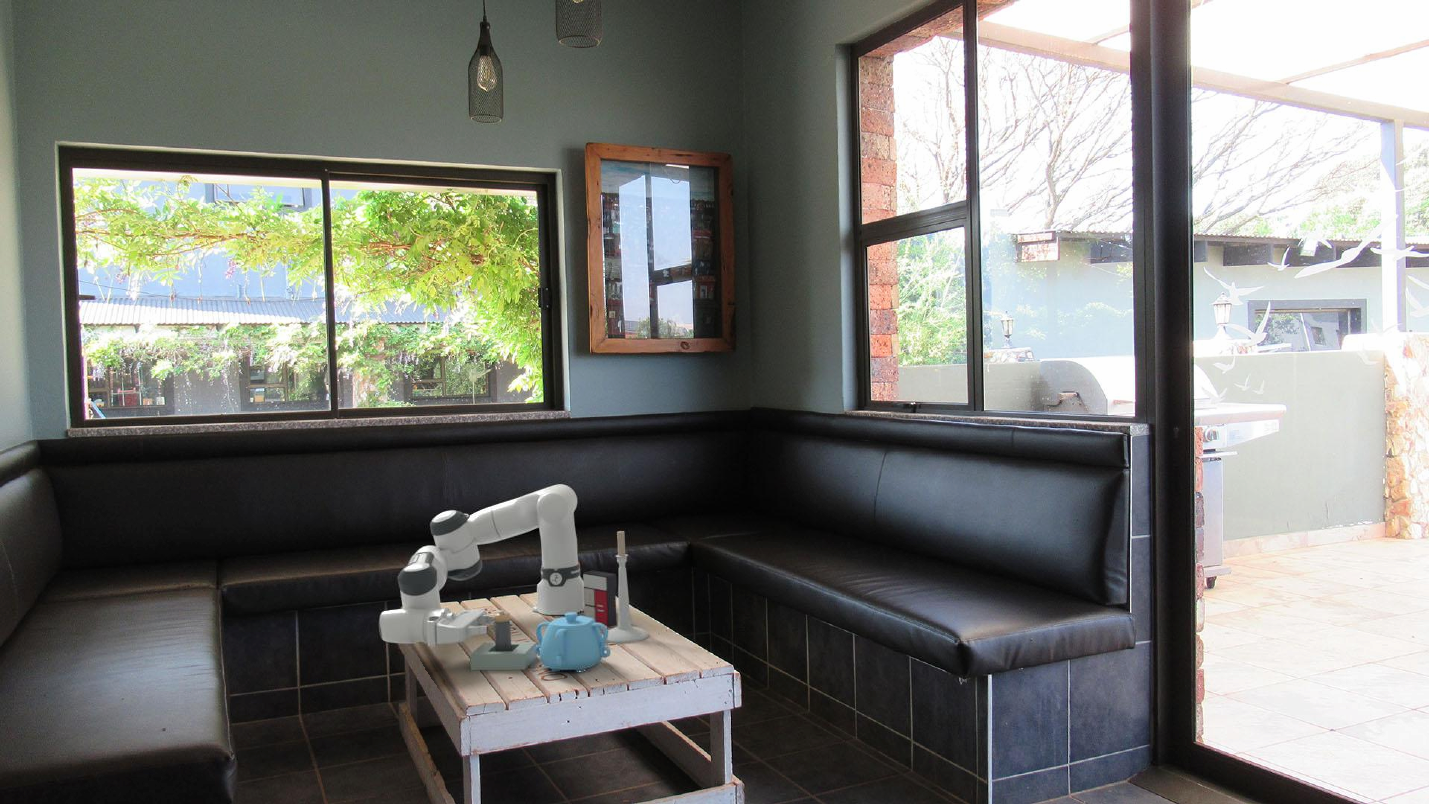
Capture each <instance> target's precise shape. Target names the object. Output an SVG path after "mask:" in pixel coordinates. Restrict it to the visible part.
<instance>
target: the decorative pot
mask: <svg viewBox="0 0 1429 804" xmlns="http://www.w3.org/2000/svg"><path fill="white" fill-rule="evenodd" d="M578 613H579V612H577V613H575V612H569V613H566V614H564V616H562V617H557V618H555V619H553V620H552V621H542V622H541V623H539V624H538V625H537V626H536V628H535V635H536V638H537V642H538V645H537V647H536V649H535V652H536V654H537V656H539V660H540V661H541V663H542V665H543V666H544V667H545V668H548V669H551V670H552V671H551V672H553V671H557V672H561V671H569V670H570V671H573V670H574V671H575V672H576V671H578V672H577V673H580V672H579V671H584V670H586V671H587V669H590V668H592V667H595V666H596V665H597V664H599V663H600V662H601V660H602V659H604V658H605V659H606V658H608V657H610V655H611V648H609V647H608V646H606V644H607V643H608V642H607V638H608V627H606V626H605V625H604V624H602V623H596V622H595V621H594V619H593V618H590V617H585V616H584V615H578ZM542 627H546V629H545V631H544V634H543V633H542ZM601 630H602V631H601ZM602 632H603V634H602ZM542 634H543V635H542ZM602 635H603V637H602ZM560 670H561V671H560Z"/></svg>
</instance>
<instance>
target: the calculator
mask: <svg viewBox="0 0 1429 804" xmlns="http://www.w3.org/2000/svg"><path fill="white" fill-rule="evenodd" d="M582 576H583V577H582V580H583V582H584V589H583V592H584V604H585V606H584V611H583V612H584V615H583V616H585V617H590V618H593V619H594V621H595V622H596V623H602V624H604V625H605V626H607V628H612V627H611V626H613V627H615V626H618V617H617V595H616V590H617V587H618V586H617V585H618V584H617V583H618V581H617V574H616V573H610V572H603V571H598V570H589V571H584V572H583V575H582Z"/></svg>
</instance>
